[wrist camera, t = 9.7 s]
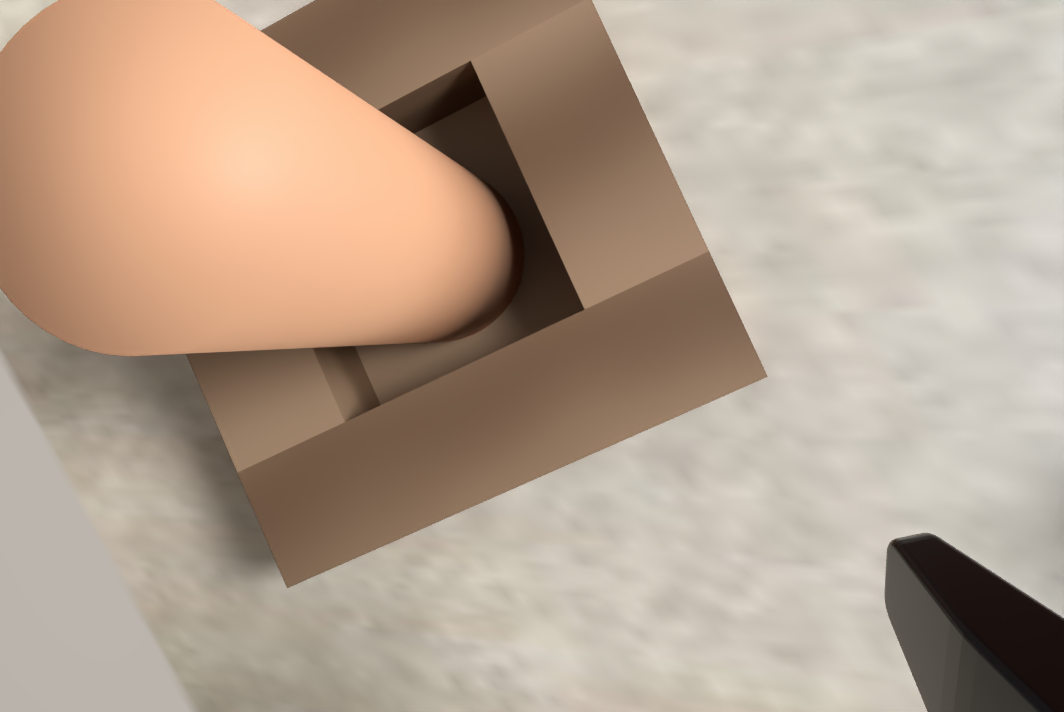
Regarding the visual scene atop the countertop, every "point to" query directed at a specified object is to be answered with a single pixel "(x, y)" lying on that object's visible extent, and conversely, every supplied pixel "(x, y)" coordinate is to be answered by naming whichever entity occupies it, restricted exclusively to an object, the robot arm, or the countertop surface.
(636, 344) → the socket block
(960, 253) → the countertop surface
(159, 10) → the peg
